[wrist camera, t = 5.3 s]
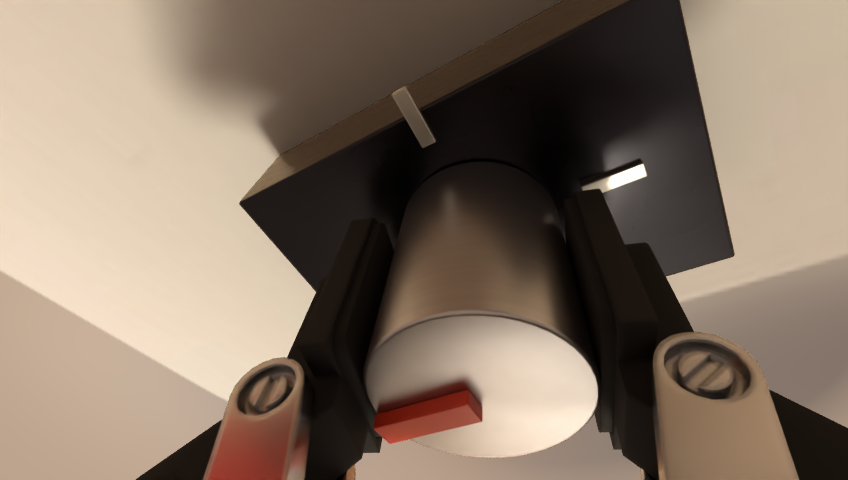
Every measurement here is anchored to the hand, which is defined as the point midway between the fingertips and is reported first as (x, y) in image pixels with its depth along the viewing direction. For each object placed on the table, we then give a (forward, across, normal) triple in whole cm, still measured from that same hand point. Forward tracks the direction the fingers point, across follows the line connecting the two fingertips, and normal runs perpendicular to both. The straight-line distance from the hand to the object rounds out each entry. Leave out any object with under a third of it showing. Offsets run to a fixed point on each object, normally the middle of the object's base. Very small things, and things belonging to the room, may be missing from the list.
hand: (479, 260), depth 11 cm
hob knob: (+1, 0, 0) cm, 1 cm away
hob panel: (+4, 0, 0) cm, 4 cm away
